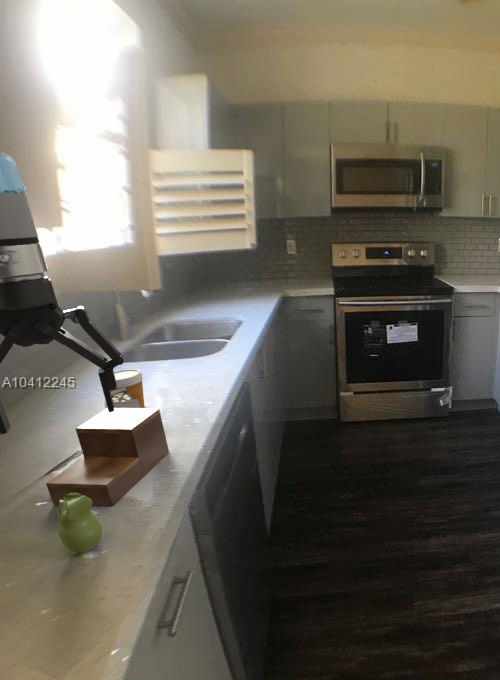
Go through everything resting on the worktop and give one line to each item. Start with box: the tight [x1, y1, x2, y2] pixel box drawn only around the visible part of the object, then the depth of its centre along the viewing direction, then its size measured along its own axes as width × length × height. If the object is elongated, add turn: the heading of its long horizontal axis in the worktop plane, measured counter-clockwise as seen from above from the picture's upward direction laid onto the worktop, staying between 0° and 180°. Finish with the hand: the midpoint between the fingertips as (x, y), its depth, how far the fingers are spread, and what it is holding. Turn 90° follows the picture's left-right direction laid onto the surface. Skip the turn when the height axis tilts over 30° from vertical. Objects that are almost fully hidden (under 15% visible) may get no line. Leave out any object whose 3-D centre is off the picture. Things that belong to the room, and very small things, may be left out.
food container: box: [104, 387, 140, 410], centre depth 112 cm, size 12×6×10 cm, turn 42°
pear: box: [56, 493, 103, 554], centre depth 73 cm, size 6×5×10 cm
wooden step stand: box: [45, 407, 170, 507], centre depth 93 cm, size 12×20×11 cm, turn 175°
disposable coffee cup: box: [110, 368, 146, 408], centre depth 121 cm, size 10×10×12 cm
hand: (61, 419), depth 70 cm, fingers open, 13 cm apart
